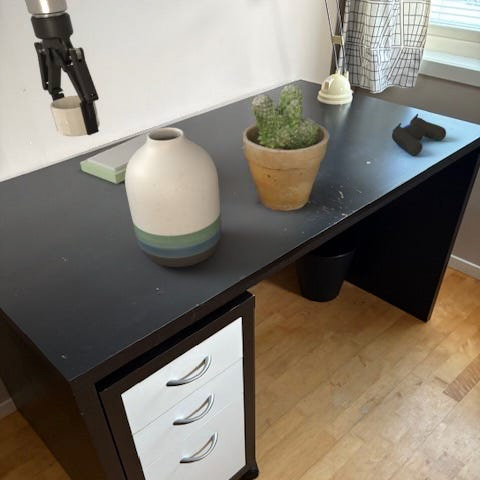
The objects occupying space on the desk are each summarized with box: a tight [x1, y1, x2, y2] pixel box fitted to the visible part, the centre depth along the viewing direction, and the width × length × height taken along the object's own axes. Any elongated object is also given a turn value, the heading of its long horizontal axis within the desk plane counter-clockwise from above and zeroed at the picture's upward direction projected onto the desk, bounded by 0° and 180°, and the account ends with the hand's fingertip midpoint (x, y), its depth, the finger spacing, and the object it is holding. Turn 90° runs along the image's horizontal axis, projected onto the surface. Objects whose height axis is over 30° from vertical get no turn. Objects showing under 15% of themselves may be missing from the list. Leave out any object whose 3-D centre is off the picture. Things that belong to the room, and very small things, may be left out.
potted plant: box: [242, 83, 330, 212], centre depth 104 cm, size 18×19×25 cm
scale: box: [79, 130, 152, 185], centre depth 131 cm, size 14×26×3 cm, turn 142°
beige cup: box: [49, 94, 101, 137], centre depth 107 cm, size 9×9×6 cm
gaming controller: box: [391, 113, 447, 157], centre depth 131 cm, size 17×6×10 cm
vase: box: [124, 126, 222, 268], centre depth 89 cm, size 17×17×24 cm
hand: (79, 128), depth 109 cm, fingers closed on beige cup, 9 cm apart
